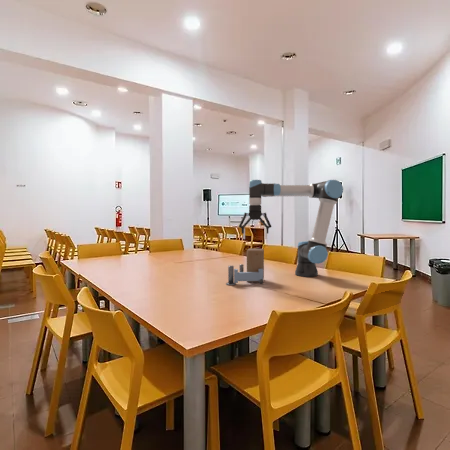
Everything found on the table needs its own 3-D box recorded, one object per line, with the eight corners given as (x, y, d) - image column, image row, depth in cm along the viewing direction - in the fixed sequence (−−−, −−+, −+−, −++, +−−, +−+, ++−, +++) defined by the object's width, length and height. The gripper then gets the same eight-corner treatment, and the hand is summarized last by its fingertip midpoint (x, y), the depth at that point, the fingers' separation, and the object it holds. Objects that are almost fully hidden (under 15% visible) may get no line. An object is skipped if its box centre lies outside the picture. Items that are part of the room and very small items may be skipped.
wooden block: (262, 283, 189) (262, 250, 188) (246, 282, 191) (246, 250, 190) (263, 279, 199) (264, 248, 198) (248, 278, 201) (248, 248, 200)
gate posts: (246, 278, 204) (246, 261, 203) (233, 285, 182) (233, 267, 182) (238, 277, 206) (238, 260, 205) (224, 284, 184) (224, 266, 184)
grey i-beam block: (262, 282, 188) (262, 268, 188) (263, 283, 185) (263, 269, 185) (234, 282, 187) (234, 268, 187) (234, 284, 184) (234, 269, 184)
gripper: (273, 205, 197) (273, 238, 198) (234, 204, 196) (234, 238, 197) (276, 204, 190) (276, 239, 191) (235, 204, 188) (235, 239, 189)
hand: (255, 238), depth 194 cm, fingers open, 13 cm apart
